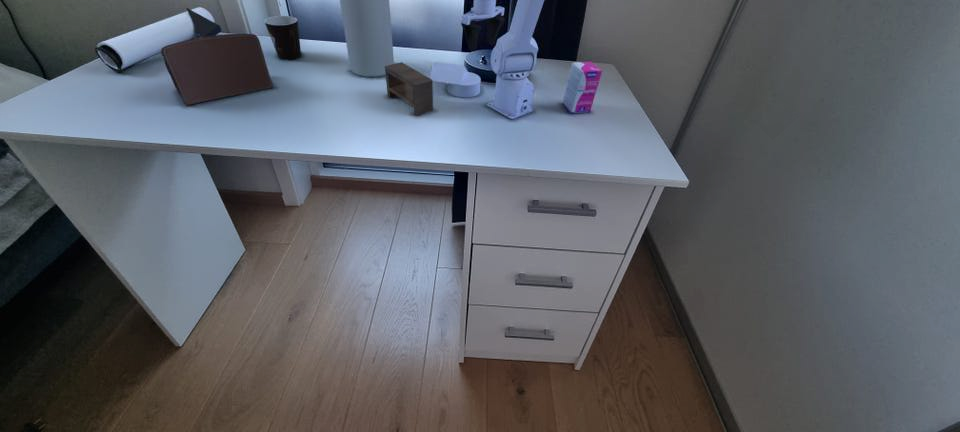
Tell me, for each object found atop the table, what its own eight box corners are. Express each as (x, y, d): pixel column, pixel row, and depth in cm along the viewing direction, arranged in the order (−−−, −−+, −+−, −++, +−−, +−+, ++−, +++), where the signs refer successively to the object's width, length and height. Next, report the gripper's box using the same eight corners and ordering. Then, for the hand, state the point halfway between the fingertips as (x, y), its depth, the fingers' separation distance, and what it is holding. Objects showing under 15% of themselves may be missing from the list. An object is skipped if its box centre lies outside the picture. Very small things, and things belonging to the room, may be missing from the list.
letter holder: (274, 88, 102) (257, 30, 93) (186, 106, 92) (157, 44, 82) (261, 74, 107) (244, 19, 98) (176, 90, 97) (148, 30, 88)
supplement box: (571, 114, 102) (581, 71, 95) (561, 104, 106) (571, 61, 99) (590, 113, 104) (603, 70, 96) (580, 102, 108) (591, 60, 100)
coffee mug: (275, 51, 120) (265, 16, 113) (305, 50, 122) (297, 15, 116) (272, 66, 112) (261, 29, 105) (304, 64, 114) (296, 28, 107)
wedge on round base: (429, 92, 106) (476, 99, 105) (428, 67, 102) (477, 74, 100) (438, 79, 113) (482, 85, 112) (438, 55, 108) (484, 62, 107)
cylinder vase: (373, 81, 109) (361, -22, 92) (341, 69, 113) (323, -31, 97) (403, 68, 117) (397, -29, 100) (371, 57, 121) (360, -38, 105)
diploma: (122, 87, 104) (143, 61, 97) (86, 56, 99) (105, 26, 93) (213, 43, 130) (234, 21, 123) (188, 17, 125) (208, -8, 119)
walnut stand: (433, 110, 99) (432, 79, 93) (416, 116, 96) (415, 84, 91) (403, 91, 105) (401, 61, 100) (387, 96, 103) (384, 66, 97)
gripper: (492, -15, 107) (488, 37, 116) (454, -8, 99) (452, 48, 108) (512, -9, 104) (506, 44, 113) (474, -1, 95) (471, 56, 105)
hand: (481, 47), depth 110 cm, fingers open, 7 cm apart
